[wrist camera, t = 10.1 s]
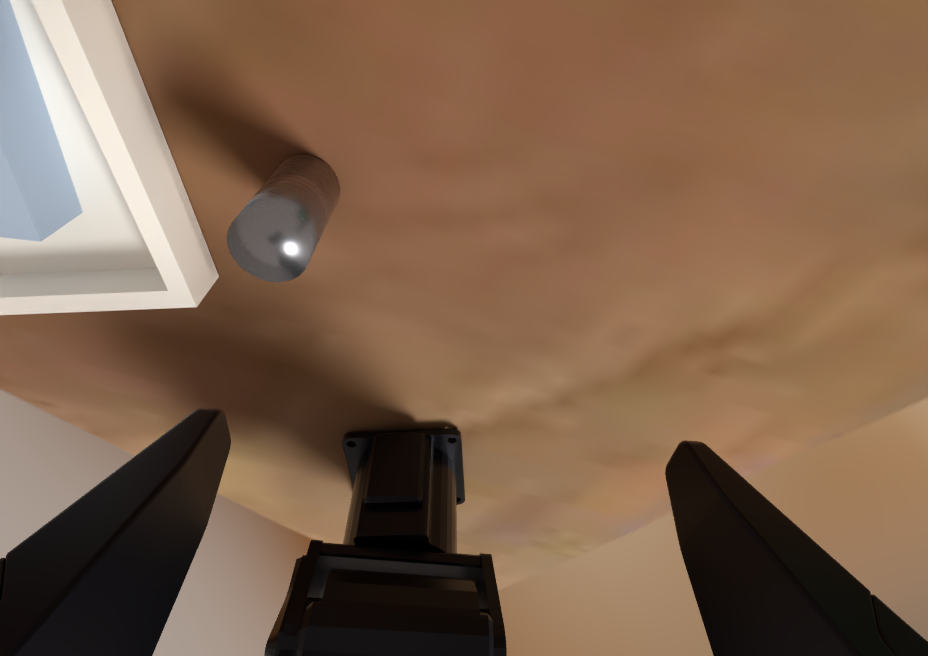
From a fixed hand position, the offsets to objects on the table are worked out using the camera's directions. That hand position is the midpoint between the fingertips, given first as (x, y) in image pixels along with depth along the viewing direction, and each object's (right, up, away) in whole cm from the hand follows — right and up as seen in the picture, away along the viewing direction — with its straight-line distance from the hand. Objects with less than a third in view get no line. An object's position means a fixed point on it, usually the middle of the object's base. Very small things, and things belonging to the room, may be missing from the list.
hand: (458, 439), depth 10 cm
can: (-6, +8, +9) cm, 13 cm away
